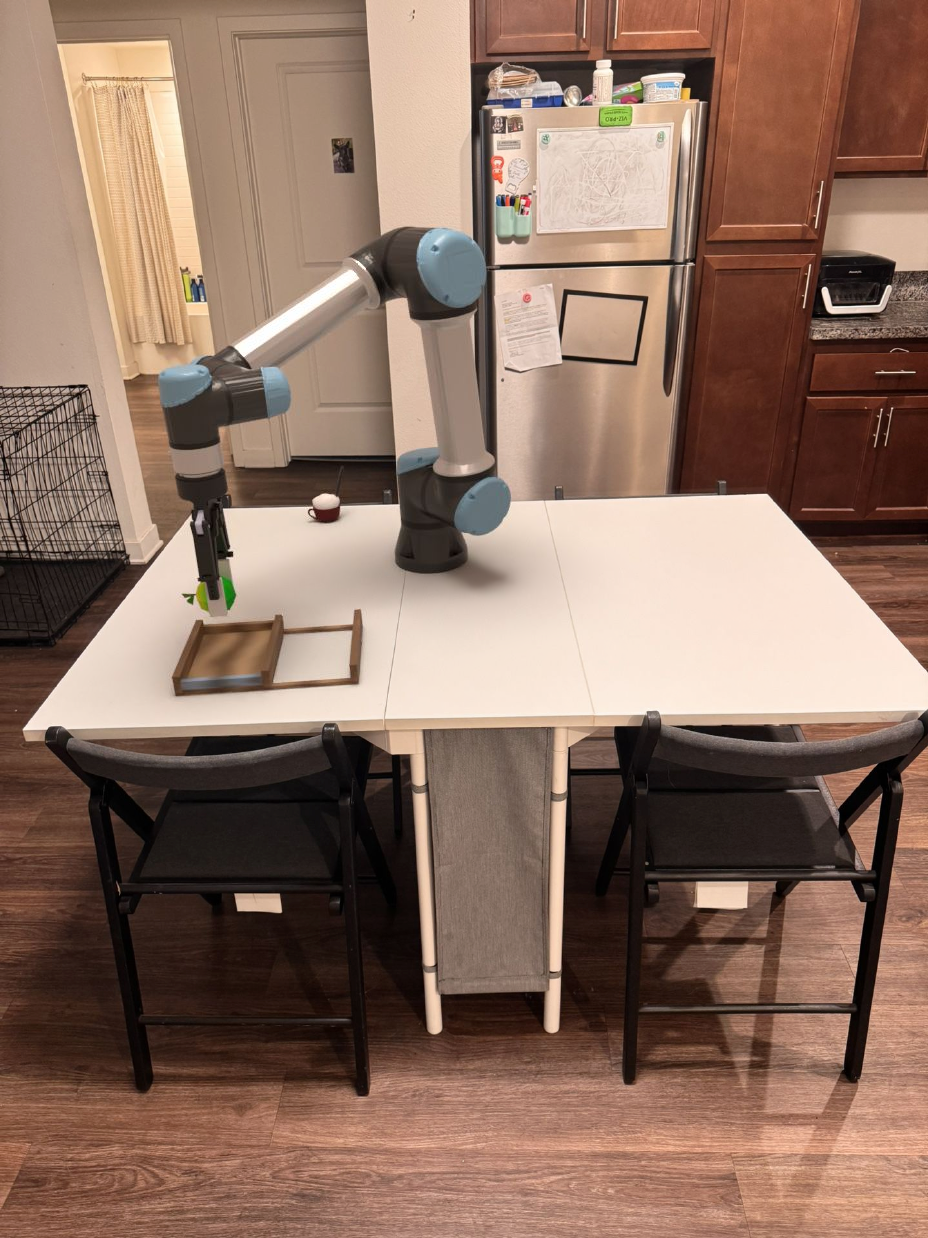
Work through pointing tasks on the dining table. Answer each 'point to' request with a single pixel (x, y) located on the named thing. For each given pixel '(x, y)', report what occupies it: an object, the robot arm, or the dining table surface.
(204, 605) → the apple
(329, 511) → the cocoa
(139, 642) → the dining table surface
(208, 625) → the frame
